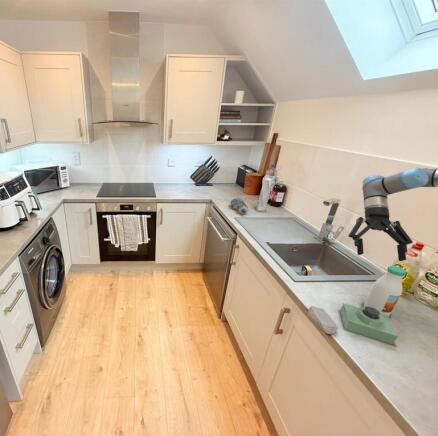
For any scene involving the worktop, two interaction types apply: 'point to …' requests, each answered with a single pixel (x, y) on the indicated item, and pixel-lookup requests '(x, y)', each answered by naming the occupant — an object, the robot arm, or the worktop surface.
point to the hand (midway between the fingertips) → (381, 257)
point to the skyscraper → (264, 195)
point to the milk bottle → (386, 291)
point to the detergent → (239, 205)
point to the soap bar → (322, 320)
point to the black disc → (371, 312)
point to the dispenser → (368, 324)
